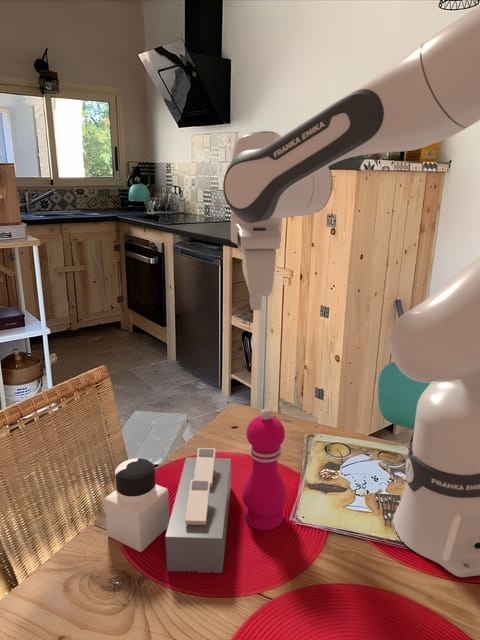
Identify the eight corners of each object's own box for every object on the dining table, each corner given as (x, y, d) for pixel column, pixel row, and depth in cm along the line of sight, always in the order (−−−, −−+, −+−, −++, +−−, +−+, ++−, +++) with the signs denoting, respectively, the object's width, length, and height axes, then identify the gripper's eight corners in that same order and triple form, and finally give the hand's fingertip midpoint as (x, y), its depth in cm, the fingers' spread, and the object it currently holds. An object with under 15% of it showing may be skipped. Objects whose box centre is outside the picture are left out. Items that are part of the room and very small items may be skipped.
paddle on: (210, 484, 78) (210, 479, 77) (206, 525, 72) (205, 520, 71) (191, 483, 78) (190, 479, 77) (185, 524, 72) (184, 519, 71)
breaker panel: (230, 487, 91) (230, 454, 89) (222, 572, 72) (222, 533, 69) (187, 485, 91) (186, 453, 89) (167, 571, 72) (165, 531, 70)
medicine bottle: (170, 525, 81) (167, 461, 77) (141, 553, 75) (136, 485, 72) (137, 510, 84) (133, 448, 81) (106, 536, 79) (100, 470, 75)
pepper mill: (283, 536, 79) (286, 423, 73) (238, 529, 80) (238, 418, 74) (288, 506, 85) (291, 401, 79) (246, 501, 87) (247, 397, 81)
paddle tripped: (215, 452, 86) (215, 447, 86) (212, 487, 81) (211, 482, 80) (198, 451, 86) (197, 447, 86) (193, 486, 81) (193, 482, 80)
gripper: (235, 225, 96) (235, 294, 101) (241, 240, 77) (241, 325, 81) (267, 224, 97) (266, 293, 101) (282, 239, 77) (279, 324, 81)
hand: (255, 308), depth 91 cm, fingers closed
